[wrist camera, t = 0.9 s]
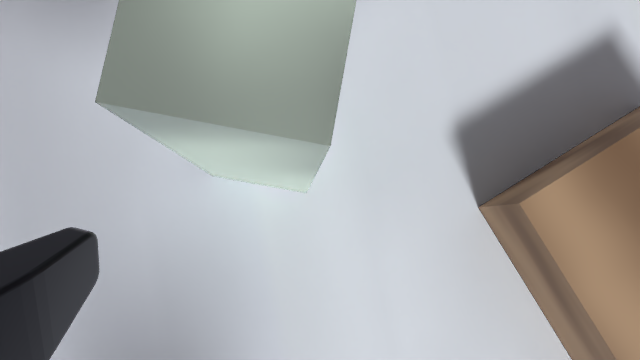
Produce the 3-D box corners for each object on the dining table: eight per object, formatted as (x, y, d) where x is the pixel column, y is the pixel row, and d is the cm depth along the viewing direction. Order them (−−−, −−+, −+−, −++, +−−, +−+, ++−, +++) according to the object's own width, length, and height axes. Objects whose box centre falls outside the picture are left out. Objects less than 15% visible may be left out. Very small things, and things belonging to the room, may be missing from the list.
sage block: (306, 192, 22) (330, 146, 9) (212, 175, 22) (95, 101, 9) (323, 101, 22) (368, -70, 9) (230, 84, 22) (146, -117, 9)
